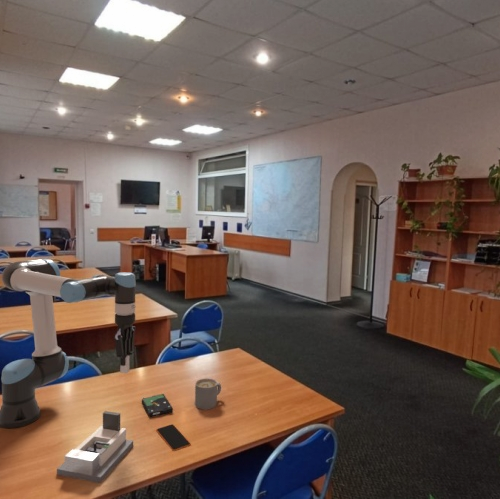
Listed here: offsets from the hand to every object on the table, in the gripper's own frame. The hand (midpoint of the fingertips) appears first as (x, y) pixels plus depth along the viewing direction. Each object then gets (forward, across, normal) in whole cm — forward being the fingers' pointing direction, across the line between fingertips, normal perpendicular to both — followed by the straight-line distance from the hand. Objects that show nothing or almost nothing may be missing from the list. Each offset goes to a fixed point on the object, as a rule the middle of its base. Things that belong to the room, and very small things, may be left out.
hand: (124, 372), depth 154 cm
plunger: (+22, -12, 0) cm, 25 cm away
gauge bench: (+24, -18, 0) cm, 30 cm away
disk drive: (+25, +21, -4) cm, 33 cm away
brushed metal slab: (+22, -27, 0) cm, 35 cm away
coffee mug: (+24, +31, -25) cm, 47 cm away
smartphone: (+25, +1, -20) cm, 32 cm away
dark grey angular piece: (+22, -20, -1) cm, 30 cm away
